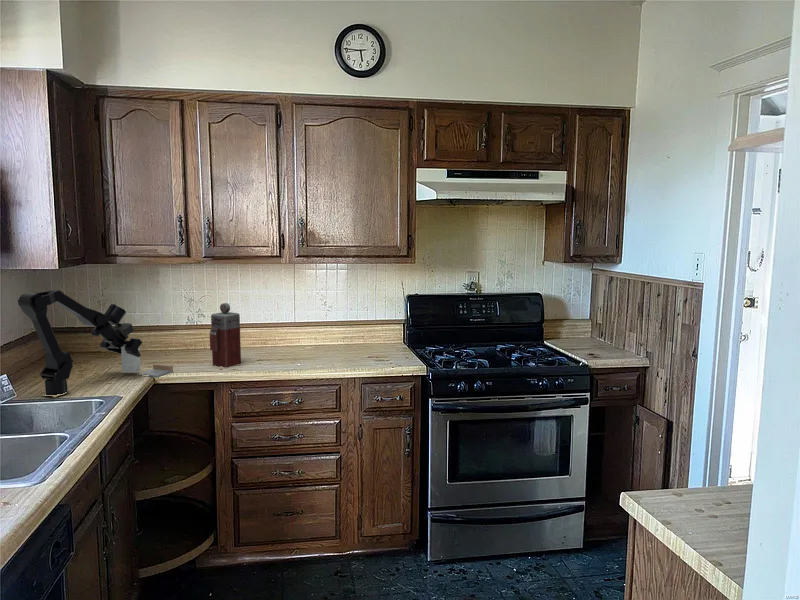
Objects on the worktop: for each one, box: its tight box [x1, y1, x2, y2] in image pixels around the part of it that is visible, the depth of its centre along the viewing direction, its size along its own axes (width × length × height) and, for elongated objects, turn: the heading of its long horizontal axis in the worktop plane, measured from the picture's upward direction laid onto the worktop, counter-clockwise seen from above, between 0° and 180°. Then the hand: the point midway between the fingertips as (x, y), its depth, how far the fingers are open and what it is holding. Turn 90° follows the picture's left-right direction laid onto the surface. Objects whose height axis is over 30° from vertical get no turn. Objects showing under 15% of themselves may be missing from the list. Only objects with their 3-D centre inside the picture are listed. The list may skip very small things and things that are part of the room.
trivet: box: [139, 363, 174, 379], centre depth 242 cm, size 10×9×3 cm
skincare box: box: [120, 346, 141, 374], centre depth 240 cm, size 6×4×12 cm
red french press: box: [209, 302, 242, 368], centre depth 256 cm, size 9×11×28 cm
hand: (133, 355), depth 241 cm, fingers closed on skincare box, 7 cm apart
